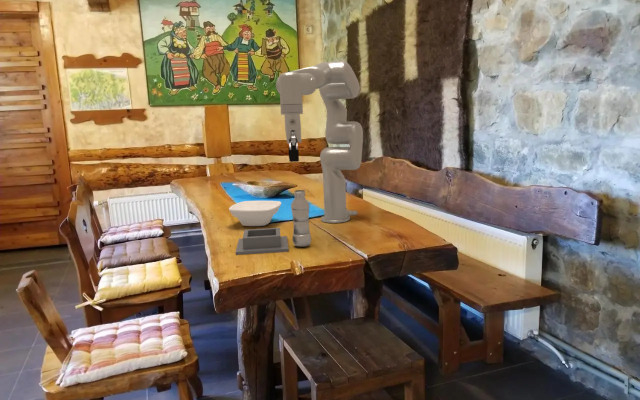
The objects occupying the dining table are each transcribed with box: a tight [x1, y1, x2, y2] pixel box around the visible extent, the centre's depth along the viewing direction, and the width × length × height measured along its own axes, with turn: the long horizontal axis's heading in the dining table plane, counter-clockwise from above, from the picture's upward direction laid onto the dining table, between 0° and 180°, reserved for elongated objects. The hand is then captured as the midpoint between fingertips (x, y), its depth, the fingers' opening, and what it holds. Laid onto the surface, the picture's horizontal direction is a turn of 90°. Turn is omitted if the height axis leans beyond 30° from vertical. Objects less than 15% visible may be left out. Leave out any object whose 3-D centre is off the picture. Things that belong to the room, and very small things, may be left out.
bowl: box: [228, 200, 282, 227], centre depth 204 cm, size 21×21×9 cm
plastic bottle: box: [290, 189, 312, 248], centre depth 168 cm, size 6×7×20 cm
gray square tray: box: [235, 227, 290, 256], centre depth 171 cm, size 18×17×5 cm
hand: (293, 160), depth 166 cm, fingers open, 9 cm apart
